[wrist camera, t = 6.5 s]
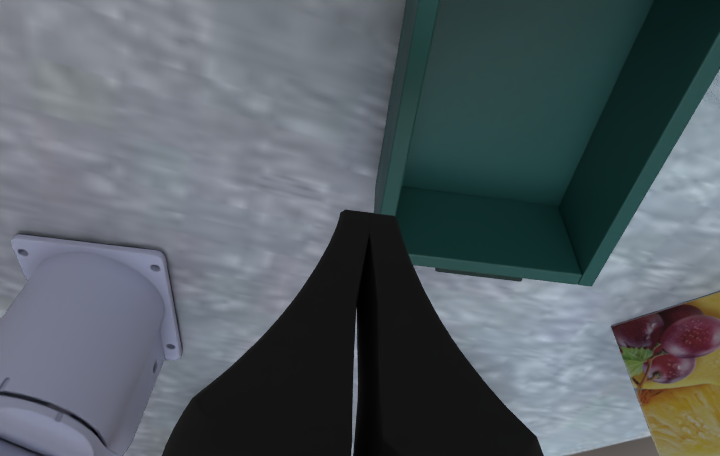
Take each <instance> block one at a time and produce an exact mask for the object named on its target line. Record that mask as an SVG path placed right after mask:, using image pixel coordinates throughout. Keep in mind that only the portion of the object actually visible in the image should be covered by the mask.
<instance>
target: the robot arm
mask: <svg viewBox="0 0 720 456" xmlns="http://www.w3.org/2000/svg"><path fill="white" fill-rule="evenodd" d="M11 245H12V248H13V250H14V252H15V254H16V257H17V259H18V261H19V264H20V266H21V268H22V271H23V273H24V275H25V278H26V280H27V283H26V285H25V286H24V287H23V289H22V290H21V292H20V293H19V294H18V296H17V297H16V299H15V300H14V301H13V303H12V304H11V306H10V307H9V309H8V310H7V311H6V313H5V314H4V316H3V317H2V318H1V320H0V456H122V455H123V454H124V453H125V452H126V450H127V449H128V448H129V446H130V444H131V442H132V441H133V438H134V436H135V433H136V431H137V428H138V426H139V423H140V420H141V418H142V415H143V413H144V410H145V408H146V405H147V402H148V400H149V397H150V395H151V392H152V390H153V387H154V384H155V382H156V379H157V377H158V374H159V372H160V369H161V366H162V364H163V361H164V359H167V360H179V359H180V358H181V355H182V348H181V342H180V337H179V331H178V325H177V320H176V314H175V308H174V303H173V297H172V291H171V286H170V280H169V274H168V268H167V263H166V258H165V256H164V255H163V254H162V253H161V252H159V251H156V250H148V249H140V248H131V247H123V246H114V245H106V244H97V243H89V242H80V241H72V240H64V239H55V238H47V237H38V236H30V235H21V234H20V235H15V236H14V237H13V239H12V240H11ZM156 265H157V266H156ZM356 308H357V350H358V403H357V416H356V428H355V441H354V453H353V456H544V455H543V453H542V450H541V447H540V444H539V442H538V439H537V437H536V436H535V435H534V434H533V433H532V432H531V431H530V430H529V429H528V428H527V427H526V426H525V425H524V424H523V423H522V422H521V421H520V420H519V419H518V418H517V417H516V416H515V415H514V414H513V413H512V412H511V411H510V410H509V409H508V408H507V407H506V406H505V405H504V404H503V403H502V401H501V400H500V399H499V398H498V397H497V396H496V395H495V393H494V392H493V391H492V390H491V389H490V388H489V387H488V386H487V384H486V383H485V382H484V380H483V379H482V378H481V377H480V375H479V374H478V373H477V372H476V370H475V369H474V368H473V367H472V365H471V364H470V363H469V361H468V360H467V359H466V358H465V356H464V355H463V354H462V352H461V351H460V349H459V348H458V346H457V345H456V343H455V342H454V341H453V339H452V338H451V336H450V335H449V333H448V331H447V330H446V328H445V327H444V325H443V323H442V322H441V320H440V318H439V317H438V315H437V313H436V312H435V310H434V308H433V306H432V304H431V302H430V300H429V299H428V297H427V295H426V293H425V291H424V289H423V287H422V285H421V283H420V280H419V278H418V276H417V274H416V271H415V269H414V267H413V265H412V262H411V260H410V257H409V255H408V252H407V249H406V246H405V244H404V241H403V238H402V234H401V231H400V227H399V223H398V220H397V218H396V217H395V216H392V215H384V214H376V213H368V212H360V211H352V210H344V211H343V212H341V213H340V217H339V221H338V224H337V227H336V229H335V232H334V234H333V236H332V238H331V241H330V243H329V245H328V247H327V248H326V250H325V252H324V254H323V256H322V257H321V259H320V261H319V263H318V265H317V266H316V268H315V269H314V271H313V272H312V274H311V275H310V277H309V279H308V280H307V282H306V283H305V285H304V286H303V288H302V289H301V290H300V292H299V293H298V295H297V296H296V297H295V299H294V300H293V301H292V302H291V304H290V305H289V306H288V308H287V309H286V310H285V311H284V312H283V314H282V315H281V316H280V317H279V318H278V320H277V321H276V322H275V323H274V324H273V325H272V326H271V327H270V329H269V330H268V331H267V332H266V333H265V334H264V335H263V336H262V337H261V338H260V339H259V340H258V341H257V342H256V343H255V344H254V345H253V346H252V347H251V348H250V349H249V350H248V351H247V352H246V353H245V354H244V355H243V356H242V357H241V358H240V359H239V360H237V361H236V362H235V363H234V364H233V365H232V366H231V367H230V368H229V369H228V370H227V371H225V372H224V373H223V374H222V375H221V376H219V377H218V378H217V379H216V380H214V381H213V382H212V383H211V384H209V385H208V386H207V387H206V388H204V389H203V390H202V391H201V392H199V393H198V394H197V395H196V396H194V397H193V398H192V400H191V401H190V403H189V404H188V406H187V407H186V409H185V410H184V412H183V414H182V415H181V417H180V419H179V420H178V422H177V424H176V425H175V427H174V429H173V431H172V433H171V435H170V437H169V440H168V442H167V444H166V446H165V449H164V452H163V455H162V456H351V448H352V400H353V366H354V341H355V321H356Z"/></svg>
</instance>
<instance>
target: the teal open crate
mask: <svg viewBox="0 0 720 456" xmlns="http://www.w3.org/2000/svg"><path fill="white" fill-rule="evenodd" d="M719 69H720V0H406V6H405V12H404V18H403V24H402V30H401V36H400V42H399V48H398V54H397V60H396V66H395V72H394V78H393V84H392V90H391V96H390V102H389V108H388V114H387V120H386V126H385V132H384V138H383V144H382V150H381V156H380V162H379V168H378V174H377V180H376V187H375V206H374V213H376V214H384V215H392V216H395V217H396V218H397V220H398V223H399V227H400V231H401V234H402V238H403V241H404V244H405V246H406V249H407V252H408V255H409V257H410V260H411V262H412V265H418V266H426V267H435V270H436V271H437V272H445V273H454V274H462V275H470V276H479V277H487V278H495V279H504V280H512V281H521V280H522V278H526V279H535V280H543V281H551V282H560V283H568V284H578V285H584V286H592V285H593V283H594V282H595V280H596V278H597V277H598V275H599V273H600V271H601V270H602V268H603V266H604V265H605V263H606V261H607V260H608V258H609V256H610V254H611V253H612V251H613V249H614V248H615V246H616V244H617V243H618V241H619V239H620V237H621V236H622V234H623V232H624V231H625V229H626V227H627V226H628V224H629V222H630V220H631V219H632V217H633V215H634V214H635V212H636V210H637V209H638V207H639V205H640V204H641V202H642V200H643V198H644V197H645V195H646V193H647V192H648V190H649V188H650V187H651V185H652V183H653V181H654V180H655V178H656V176H657V175H658V173H659V171H660V170H661V168H662V166H663V164H664V163H665V161H666V159H667V158H668V156H669V154H670V153H671V151H672V149H673V147H674V146H675V144H676V142H677V141H678V139H679V137H680V136H681V134H682V132H683V130H684V129H685V127H686V125H687V124H688V122H689V120H690V119H691V117H692V115H693V113H694V112H695V110H696V108H697V107H698V105H699V103H700V102H701V100H702V98H703V96H704V95H705V93H706V91H707V90H708V88H709V86H710V85H711V83H712V81H713V80H714V78H715V76H716V74H717V73H718V71H719Z"/></svg>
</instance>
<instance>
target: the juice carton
mask: <svg viewBox="0 0 720 456" xmlns="http://www.w3.org/2000/svg"><path fill="white" fill-rule="evenodd" d="M611 327H612V330H613V333H614V336H615V338H616V341H617V344H618V346H619V349H620V352H621V355H622V357H623V360H624V363H625V365H626V368H627V371H628V373H629V376H630V379H631V382H632V384H633V387H634V390H635V392H636V395H637V398H638V401H639V403H640V406H641V409H642V411H643V414H644V417H645V419H646V422H647V425H648V428H649V430H650V433H651V436H652V438H653V441H654V444H655V447H656V449H657V452H658V455H659V456H720V292H717V293H714V294H711V295H708V296H705V297H701V298H698V299H695V300H692V301H689V302H686V303H683V304H679V305H676V306H673V307H670V308H667V309H664V310H661V311H657V312H654V313H651V314H648V315H645V316H642V317H639V318H635V319H632V320H629V321H626V322H623V323H620V324H617V325H613V326H611Z"/></svg>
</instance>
